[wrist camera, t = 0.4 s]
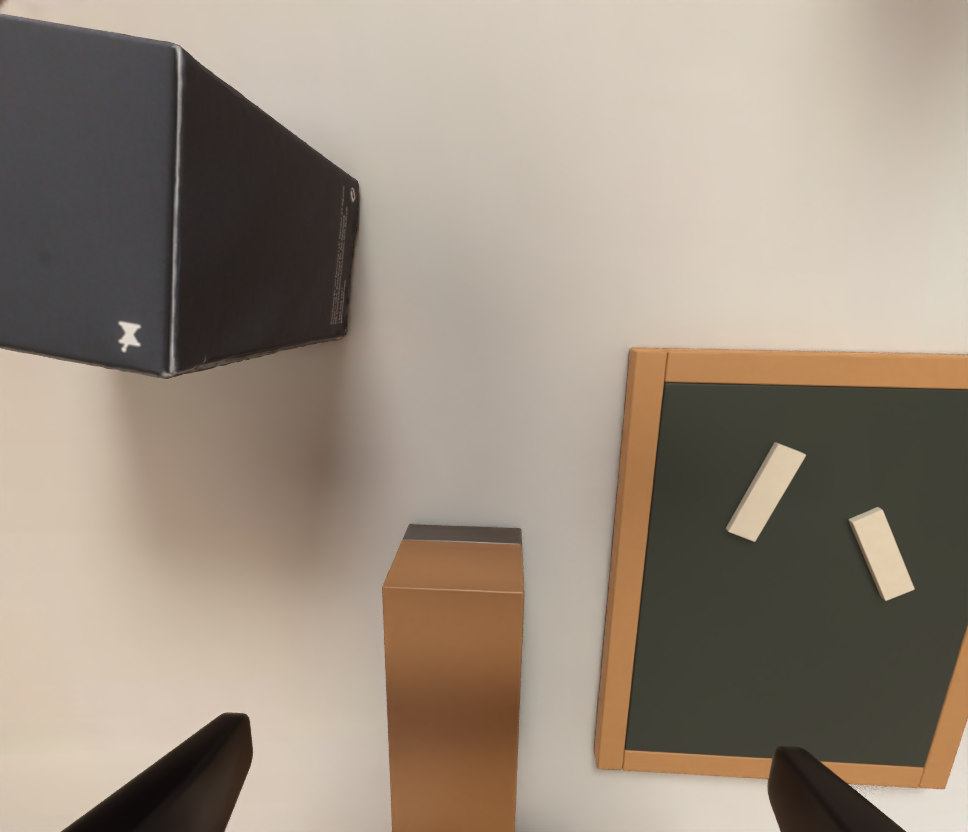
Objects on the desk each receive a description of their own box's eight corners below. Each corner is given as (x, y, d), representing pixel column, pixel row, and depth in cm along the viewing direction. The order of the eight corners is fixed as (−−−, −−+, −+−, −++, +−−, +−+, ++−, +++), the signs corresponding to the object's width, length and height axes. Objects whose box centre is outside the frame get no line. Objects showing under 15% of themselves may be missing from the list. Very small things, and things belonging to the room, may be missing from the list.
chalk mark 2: (751, 538, 20) (755, 542, 20) (725, 528, 20) (728, 531, 20) (802, 452, 19) (806, 455, 19) (774, 441, 19) (778, 443, 19)
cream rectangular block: (909, 585, 20) (915, 589, 20) (880, 596, 21) (885, 601, 20) (877, 506, 20) (883, 509, 19) (847, 519, 20) (852, 522, 19)
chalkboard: (928, 769, 24) (945, 790, 23) (593, 750, 25) (597, 769, 24) (1055, 356, 19) (1084, 360, 18) (629, 347, 19) (636, 350, 19)
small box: (365, 169, 18) (188, 20, 8) (348, 342, 20) (182, 397, 10) (88, 119, 18) (-429, -88, 8) (93, 296, 20) (-332, 303, 10)
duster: (513, 745, 25) (513, 851, 20) (414, 740, 25) (392, 843, 20) (521, 527, 22) (524, 592, 17) (408, 523, 22) (381, 586, 17)
